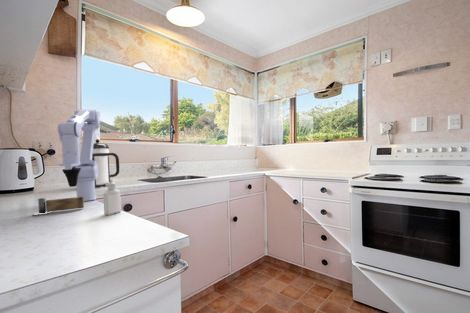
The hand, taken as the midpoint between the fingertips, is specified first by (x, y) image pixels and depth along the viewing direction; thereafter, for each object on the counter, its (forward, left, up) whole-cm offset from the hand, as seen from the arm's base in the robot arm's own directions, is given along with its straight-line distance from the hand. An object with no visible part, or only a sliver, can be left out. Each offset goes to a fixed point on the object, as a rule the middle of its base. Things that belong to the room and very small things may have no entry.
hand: (73, 186), depth 96 cm
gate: (+5, -2, -8) cm, 10 cm away
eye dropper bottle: (+19, +14, -9) cm, 25 cm away
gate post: (+5, -9, -8) cm, 13 cm away
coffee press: (-63, +6, -9) cm, 64 cm away
